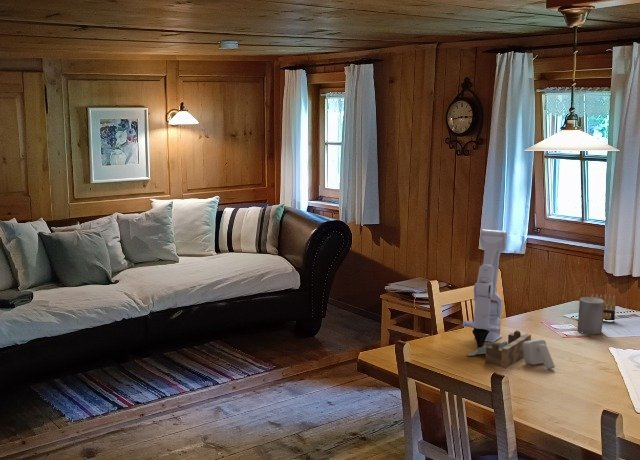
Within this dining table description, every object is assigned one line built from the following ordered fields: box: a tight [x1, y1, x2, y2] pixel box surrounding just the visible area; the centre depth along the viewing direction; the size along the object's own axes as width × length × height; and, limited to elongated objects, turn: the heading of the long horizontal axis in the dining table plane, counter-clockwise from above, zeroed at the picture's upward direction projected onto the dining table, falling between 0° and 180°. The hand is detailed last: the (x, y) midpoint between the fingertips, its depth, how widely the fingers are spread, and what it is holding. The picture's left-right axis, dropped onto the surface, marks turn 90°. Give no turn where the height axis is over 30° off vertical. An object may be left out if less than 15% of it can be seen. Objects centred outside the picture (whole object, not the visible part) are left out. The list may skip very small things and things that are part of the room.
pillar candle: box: [577, 296, 604, 335], centre depth 315 cm, size 10×10×15 cm
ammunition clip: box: [590, 293, 616, 320], centre depth 332 cm, size 11×2×12 cm, turn 72°
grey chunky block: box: [523, 339, 556, 370], centre depth 272 cm, size 8×10×10 cm
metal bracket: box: [467, 340, 508, 357], centre depth 285 cm, size 14×6×15 cm
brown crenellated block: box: [484, 329, 532, 369], centre depth 281 cm, size 23×8×8 cm, turn 143°
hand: (480, 347), depth 288 cm, fingers closed
